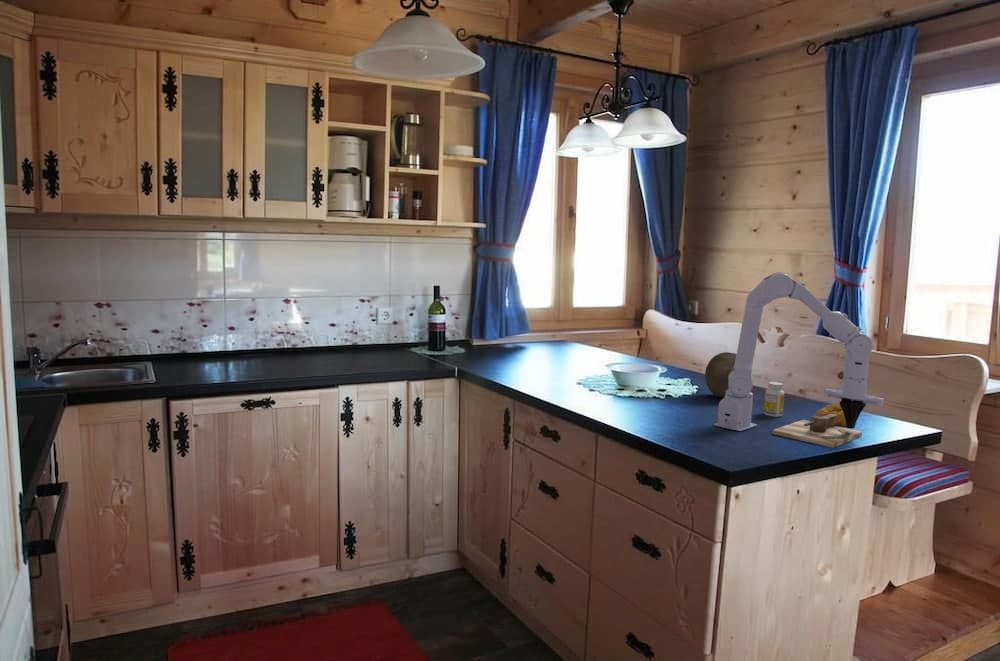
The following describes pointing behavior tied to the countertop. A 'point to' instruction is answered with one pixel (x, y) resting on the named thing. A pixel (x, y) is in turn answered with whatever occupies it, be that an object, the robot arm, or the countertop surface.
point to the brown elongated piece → (821, 422)
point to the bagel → (833, 410)
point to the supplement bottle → (774, 400)
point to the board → (817, 434)
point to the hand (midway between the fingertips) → (850, 427)
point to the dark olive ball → (719, 373)
